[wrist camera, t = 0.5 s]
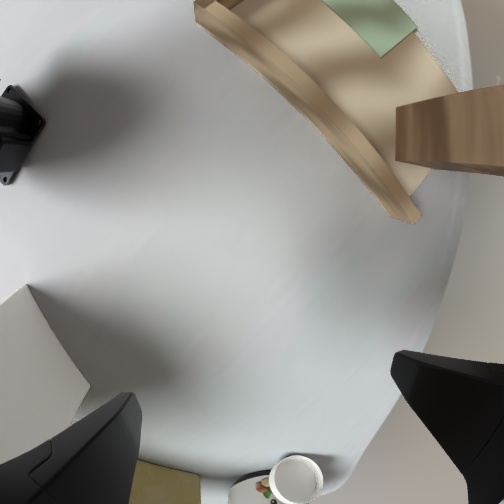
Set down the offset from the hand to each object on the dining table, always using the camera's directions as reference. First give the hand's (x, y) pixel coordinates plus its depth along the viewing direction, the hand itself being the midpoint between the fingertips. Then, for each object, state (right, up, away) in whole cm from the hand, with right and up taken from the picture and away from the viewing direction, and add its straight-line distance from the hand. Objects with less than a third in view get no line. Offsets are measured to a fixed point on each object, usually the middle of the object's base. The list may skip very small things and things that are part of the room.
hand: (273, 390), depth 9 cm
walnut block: (+13, +14, +11) cm, 22 cm away
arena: (+8, +20, +10) cm, 23 cm away
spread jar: (+2, -25, +21) cm, 33 cm away
